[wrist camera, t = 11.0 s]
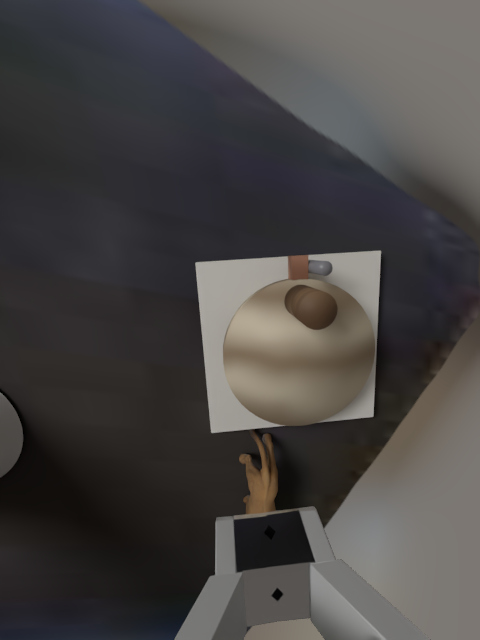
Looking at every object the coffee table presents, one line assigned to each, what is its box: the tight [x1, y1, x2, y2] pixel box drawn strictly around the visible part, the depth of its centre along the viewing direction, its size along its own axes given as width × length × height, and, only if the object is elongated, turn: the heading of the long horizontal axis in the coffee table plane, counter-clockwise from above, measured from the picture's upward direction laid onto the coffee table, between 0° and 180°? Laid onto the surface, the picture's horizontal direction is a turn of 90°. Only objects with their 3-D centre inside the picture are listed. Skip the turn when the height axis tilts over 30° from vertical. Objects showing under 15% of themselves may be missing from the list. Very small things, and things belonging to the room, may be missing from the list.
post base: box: [196, 251, 381, 433], centre depth 29 cm, size 19×19×8 cm
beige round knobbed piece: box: [223, 255, 375, 426], centre depth 27 cm, size 17×15×6 cm
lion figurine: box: [239, 429, 278, 514], centre depth 32 cm, size 15×5×9 cm, turn 11°
